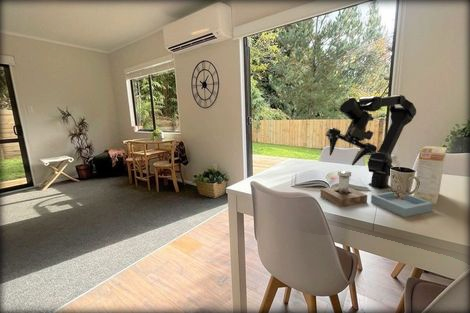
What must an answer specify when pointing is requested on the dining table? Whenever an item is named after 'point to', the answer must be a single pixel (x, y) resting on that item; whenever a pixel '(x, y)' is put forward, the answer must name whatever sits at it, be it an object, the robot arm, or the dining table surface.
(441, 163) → the coffeecake box
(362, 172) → the dining table surface
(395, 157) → the eye dropper bottle
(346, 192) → the clear glass cylinder
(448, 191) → the dining table surface
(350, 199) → the socket block
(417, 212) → the tray
